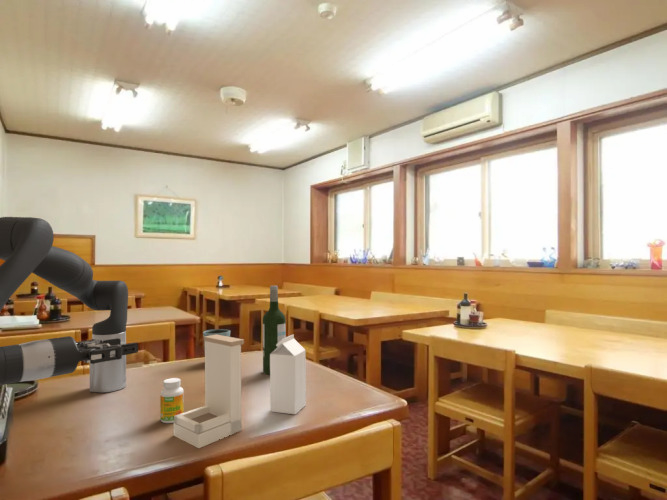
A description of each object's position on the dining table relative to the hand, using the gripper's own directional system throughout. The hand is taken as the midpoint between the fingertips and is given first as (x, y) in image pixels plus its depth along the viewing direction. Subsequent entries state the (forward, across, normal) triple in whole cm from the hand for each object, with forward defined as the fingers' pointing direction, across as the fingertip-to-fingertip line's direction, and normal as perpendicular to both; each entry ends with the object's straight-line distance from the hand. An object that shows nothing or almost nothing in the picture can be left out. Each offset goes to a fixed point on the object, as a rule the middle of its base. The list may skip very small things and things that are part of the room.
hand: (128, 345), depth 95 cm
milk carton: (+34, -18, +20) cm, 43 cm away
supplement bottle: (+11, 0, +20) cm, 23 cm away
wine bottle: (+56, +11, +20) cm, 60 cm away
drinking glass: (+51, +38, +20) cm, 67 cm away
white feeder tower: (+12, -14, +20) cm, 27 cm away
